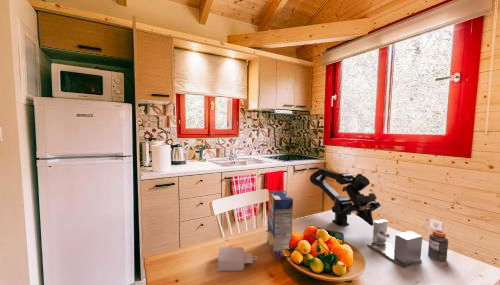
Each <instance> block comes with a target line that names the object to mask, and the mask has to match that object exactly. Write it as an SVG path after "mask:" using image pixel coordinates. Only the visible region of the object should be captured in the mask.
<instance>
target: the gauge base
mask: <svg viewBox="0 0 500 285" xmlns="http://www.w3.org/2000/svg"><path fill="white" fill-rule="evenodd" d="M370 243H371V242H370ZM370 243H367V247H369V248H370V249H372V250H373V251H375V252H377V253H378V254H379V255H381V256H383V257H385V258H386V259H388V260H389V261H392V262H393V263H394V264H396V265H397V266H400V267H401V268H403V269H404V268H407V267H410V266H414V265H417V264H420V263H422V262H423V259H422V258H421V257H422V256H421V255H422V247H423V246H422V244H423V235H421V234H419V233H416V232H414V231H411V230H408V231H405V232H400V233H396V234H395V238H394V243H392V242H390V241H388V240H386V242H385V243H381V244H377V245H376V244H372V245H371V244H370Z"/></svg>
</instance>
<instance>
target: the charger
mask: <svg viewBox="0 0 500 285" xmlns="http://www.w3.org/2000/svg"><path fill="white" fill-rule="evenodd" d="M217 257H218V258H217V272H234V271H235V272H236V271H240V272H241V271H243V270H244V269H245V264H253V263H254V261H258V260H259V259H258V255H253V253H251V252H245V249H244V248H243V247H242V246H231V247H230V246H225V247H224V246H221V247H219V250H218V256H217Z"/></svg>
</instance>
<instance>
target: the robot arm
mask: <svg viewBox="0 0 500 285" xmlns="http://www.w3.org/2000/svg"><path fill="white" fill-rule="evenodd" d="M326 178H330V179H332V180H335V181H336V183H337V184H339V185H341V186H343V185H345V186H343V187H342V190H341V191H342V192H346V194H347V195H348V196H347V195H340V194H339V193H338V192H337V191H336V190H335V189H334V188H333V187H332V186H331V185H330V184H329V183H327V181H326ZM309 181H310V183H311V184H312V185H314V186H317V187H318V188H320V190H322V191H323V192H324V194H325V195H327V196H328V197H329V199H331V200H332V201H333V206H332V207H331V211H332V212H331V213H334V219H332V222H333V223H334V224H335V225H337V226H338V227H339V226H340V227H341V226H342V227H343V226H349V225H350V223H348V216H350V215H351V216H352V213H353V212H356V213H355V216H357V217H359V218H360V219H362V220H363V221H364V222H366V223H367V224H368V225H370V226H371V227H372V226H373V227H374V220H373V216H372V214H373V213H372V212H375V210H377V209H379V208H380V207H382V205H381V204H380V202H379V201H376V200H377V196H376V194H375V193H374V192H371V193H368V195H365V194H364V193H361V191H363V190H364V189H366V188H367V187H368V186H369V185H370V183H371V182H370V180H369V178H367V177H366V176H365V175H363V174H362V173H357V174H356V176H353V174H352V173H350V172H349V173H348V172H339V171H336V170H335V171H334V170H332V169H330V168H329V169H328V168H326V167H324V168H322V167H320V168H319V169H318V170H316V171H315V172H313V173H312V174H311V175H310V176H309Z"/></svg>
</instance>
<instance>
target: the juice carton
mask: <svg viewBox="0 0 500 285" xmlns="http://www.w3.org/2000/svg"><path fill="white" fill-rule="evenodd" d="M267 204H268V205H267V206H268V210H267V214H268V215H267V238H266V239H267V240H266V241H267V244H268V247H269V250H270V252H271V255H272V257H273V258H283V257H284V254H283V250H284V249H290V248H289V242H290V240H291V238H292V237H293V235H292V234H293V215H294V210H293V209H294V199H293V197H291V195H290V194H289V193H288V192H287V191H286V190H268V203H267ZM292 239H293V238H292Z"/></svg>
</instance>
